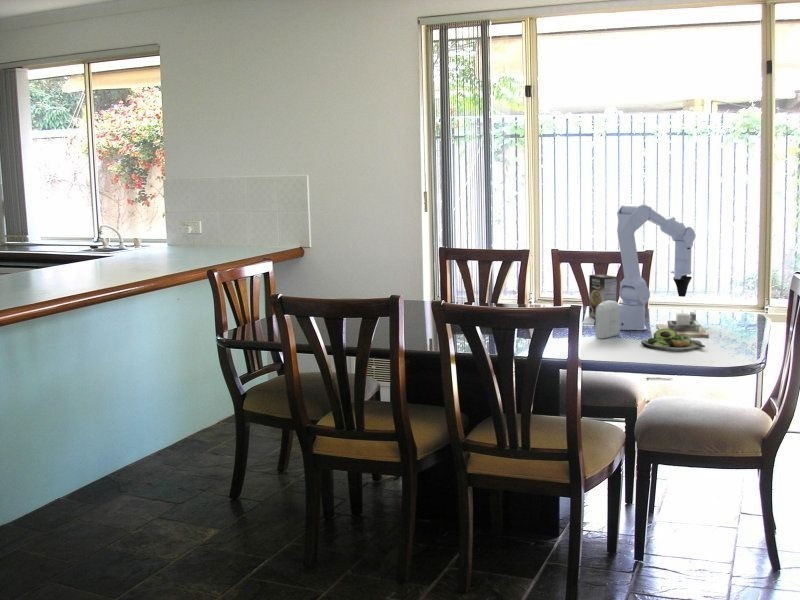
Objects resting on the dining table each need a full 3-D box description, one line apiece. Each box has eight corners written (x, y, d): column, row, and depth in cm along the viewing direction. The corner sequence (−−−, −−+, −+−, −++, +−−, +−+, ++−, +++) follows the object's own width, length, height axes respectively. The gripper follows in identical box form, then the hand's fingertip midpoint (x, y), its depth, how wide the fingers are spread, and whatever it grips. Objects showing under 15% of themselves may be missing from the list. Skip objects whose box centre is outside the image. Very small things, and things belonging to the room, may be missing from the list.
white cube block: (677, 329, 301) (677, 315, 300) (676, 327, 305) (676, 313, 304) (689, 329, 300) (689, 315, 300) (687, 327, 304) (688, 313, 303)
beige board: (662, 337, 294) (662, 328, 294) (652, 320, 323) (653, 312, 323) (708, 337, 291) (708, 328, 291) (695, 321, 320) (695, 313, 320)
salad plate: (719, 347, 277) (719, 333, 276) (685, 356, 267) (686, 341, 266) (668, 339, 292) (668, 325, 292) (634, 346, 282) (634, 332, 281)
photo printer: (610, 333, 302) (610, 298, 300) (621, 335, 299) (621, 299, 297) (593, 338, 295) (593, 302, 293) (604, 339, 292) (604, 303, 290)
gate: (695, 330, 297) (696, 319, 296) (689, 323, 311) (690, 312, 310) (699, 330, 297) (699, 319, 296) (693, 323, 310) (693, 312, 310)
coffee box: (588, 316, 336) (588, 274, 334) (601, 314, 339) (602, 273, 336) (603, 319, 328) (603, 277, 325) (616, 318, 330) (617, 276, 328)
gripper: (677, 256, 325) (676, 292, 327) (666, 261, 313) (665, 298, 315) (696, 257, 321) (695, 294, 323) (686, 261, 309) (685, 299, 311)
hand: (681, 296), depth 319 cm, fingers closed
